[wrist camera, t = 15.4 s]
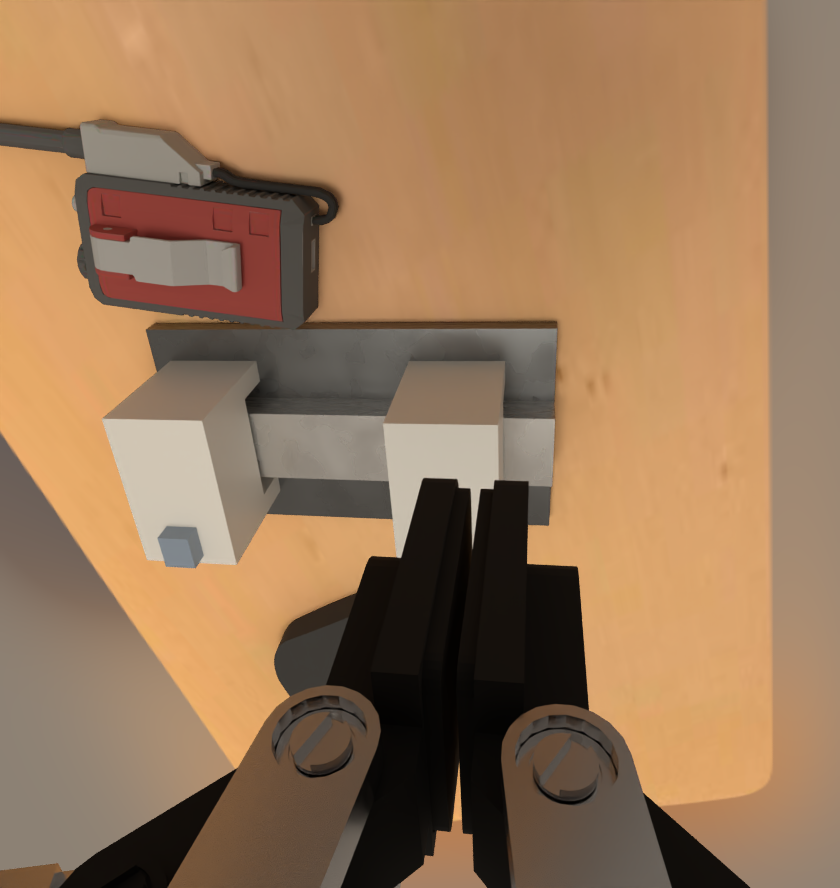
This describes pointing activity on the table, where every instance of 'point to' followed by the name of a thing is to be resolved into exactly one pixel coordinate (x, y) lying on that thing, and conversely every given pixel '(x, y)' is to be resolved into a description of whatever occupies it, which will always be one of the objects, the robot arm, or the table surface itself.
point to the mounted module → (192, 462)
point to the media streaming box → (311, 646)
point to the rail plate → (366, 377)
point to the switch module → (444, 433)
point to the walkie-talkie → (186, 227)
